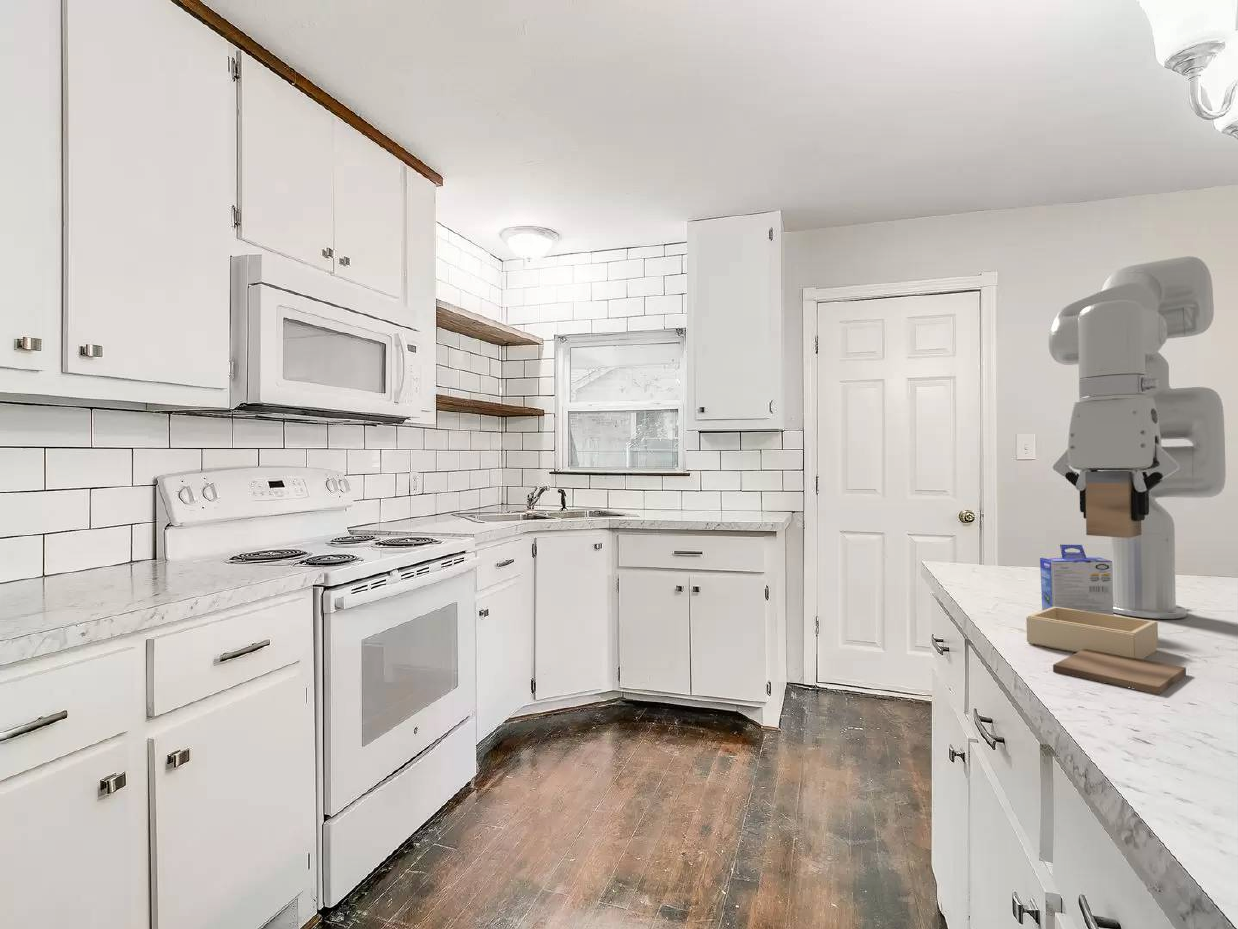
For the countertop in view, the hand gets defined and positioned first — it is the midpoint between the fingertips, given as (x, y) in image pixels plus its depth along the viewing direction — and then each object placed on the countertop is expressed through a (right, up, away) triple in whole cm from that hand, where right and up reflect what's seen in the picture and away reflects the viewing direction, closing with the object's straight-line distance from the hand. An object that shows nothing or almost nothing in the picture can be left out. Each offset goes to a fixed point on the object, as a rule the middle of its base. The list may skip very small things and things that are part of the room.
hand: (1113, 517), depth 93 cm
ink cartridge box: (+11, -22, +24) cm, 34 cm away
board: (0, -22, -1) cm, 22 cm away
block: (0, -2, 0) cm, 2 cm away
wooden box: (+5, -22, +12) cm, 25 cm away
